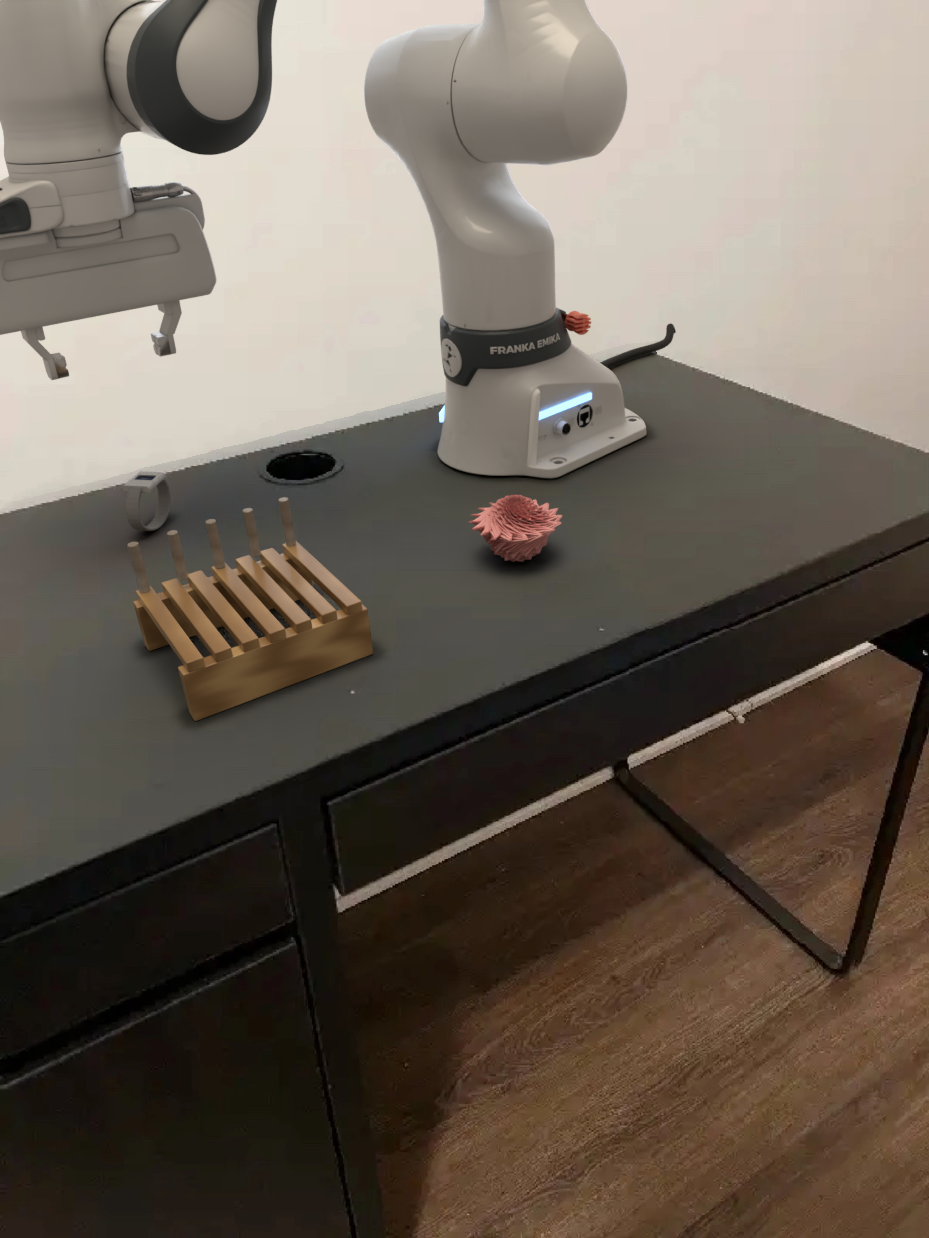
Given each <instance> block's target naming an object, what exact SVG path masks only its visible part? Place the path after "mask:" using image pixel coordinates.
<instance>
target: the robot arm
mask: <svg viewBox="0 0 929 1238" xmlns="http://www.w3.org/2000/svg"><path fill="white" fill-rule="evenodd" d="M482 1H483V15H482V21H481V23H458V24H457V23H453V24H429V25H428V24H427V25H424V26H421V27H417V28H415V29H412V30H408V31H404V32H403V33H399V34H397V35H395V36H392V37H389V38H387V39H385V40H384V41H382V42H381V43H380V44H379V45H378V46H377V47H376V48H375V50H374V51H373V53H372V55H371V56H370V59H369V61H368V64H367V67H366V71H365V75H364V80H363V102H364V103H363V104H364V108H365V113H366V115H367V119H368V122H369V124H370V126H371V128H372V130H373V132H374V134H375V135H376V137H378V139H379V140H380V141H381V142H382V143H383V144H384V145H385V146H386V147H387V148H389V149H390V151H391V152H392V153H393V154H394V155H395V156H396V157H397V158H398V159H399V161H400V163H401V164H402V165H403V167H404V168H405V170H406V171H407V173H408V174H409V176H410V178H411V180H412V181H413V183H414V186H415V188H416V191H417V192H418V194H419V196H420V199H421V201H422V203H423V206H424V209H425V211H426V213H427V216H428V219H429V222H430V225H431V229H432V233H433V238H434V241H435V247H436V254H437V255H436V257H437V262H438V263H437V264H438V271H439V272H438V273H439V280H440V291H441V303H442V315H441V317H440V318H439V340H440V353H441V355H440V356H441V363H442V368H443V374H444V376H445V393H444V405H443V407H442V408H441V410H440V411H439V412H438V417H439V418H438V420H439V423H442V426H441V432H440V437H439V443H438V446H437V450H436V451H437V456H438V458H439V460H440V461H441V462H443V463H444V464H446V465H447V466H448V467H451V468H453V469H456V470H457V471H462V472H465V473H468V474H474V475H482V476H498V477H501V476H502V477H505V476H508V477H509V476H528V477H533V478H541V479H556V478H559V477H562V476H564V475H566V474H568V473H571V472H572V471H575V470H577V469H579V468H581V467H583V466H585V465H587V464H589V463H591V462H593V461H596V460H598V459H600V458H602V457H604V456H607V455H608V454H610V453H612V452H615V451H617V450H618V449H621V448H623V447H625V446H627V445H630V444H632V443H634V442H635V441H638V440H640V439H642V438H644V437H645V436H647V426H646V423H645V421H644V419H642V418H641V417H640V416H639V415H638V414H636V412H633V411H632V410H630V409H628V408H627V407H625V399H624V393H623V388H622V385H621V382H620V380H619V378H618V376H617V375H616V374H615V373H614V372H613V371H612V370H611V369H610V368H611V367H613V366H616V365H618V364H620V363H623V362H626V361H628V360H631V359H633V358H636V357H640V356H644V355H648V354H651V353H654V352H658V351H661V350H663V349H665V348H666V347H668V346H669V345H670V344H672V341H673V339H674V335H675V334H676V332H677V330H676V328H675V325H674V324H673V323H668V324H667V325H666V328H665V329H666V330H665V331H666V332H665V337H664V338H663V339H661V340H659V341H657V342H654V343H650V344H647V345H643V346H639V347H636V348H633V349H629V350H627V351H625V352H622V353H619V354H616V355H614V356H612V357H609V358H606V359H604V360H602V361H601V362H600V361H598V360H597V359H596V358H593V356H591V355H590V354H588V353H587V352H585V351H584V350H582V349H580V348H579V347H578V346H576V345H575V344H573V342H572V339H571V336H570V334H569V332H574V333H576V334H577V335H578V336H579V335H580V336H581V335H582V336H584V335H586V334H587V333H589V329H590V328H591V327H592V325H591V324H592V321H591V320H592V319H591V317H589V314H586V313H582V312H579V311H578V310H572V311H570V312H568V313H567V312H566V311H565V310H564V309H561V308H558V307H557V305H556V303H557V302H556V301H557V300H556V242H555V241H556V240H555V235H554V231H553V229H552V227H551V224H550V222H549V221H548V219H547V218H546V216H545V215H543V213H541V212H540V210H538V209H537V208H535V207H534V206H533V205H532V204H531V203H529V202H528V201H527V200H526V199H525V198H524V197H523V195H522V194H521V192H520V191H519V189H518V188H517V186H516V184H515V182H514V180H513V177H512V175H511V172H510V169H509V166H508V164H509V165H510V164H511V165H512V164H513V165H532V166H552V165H553V166H554V165H558V164H559V165H560V164H564V163H570V162H574V161H579V160H583V159H587V158H592V157H595V156H598V155H599V154H601V153H602V152H603V151H604V150H605V149H606V148H607V147H608V146H609V144H610V143H611V142H612V141H613V139H614V137H615V136H616V134H617V132H618V131H619V129H620V127H621V126H622V125H621V124H622V121H623V119H624V116H625V113H626V109H627V102H628V97H629V95H628V94H629V81H628V74H627V69H626V65H625V62H624V59H623V56H622V54H621V52H620V50H619V48H618V46H617V44H616V43H615V42H614V40H613V38H612V37H611V36H610V34H608V33H607V32H606V31H605V30H604V29H603V28H602V27H601V25H600V24H599V23H598V21H597V20H596V19H595V16H594V14H593V13H592V11H591V10H590V7H589V6H588V3H587V1H586V0H482ZM277 3H278V0H162V1H160V0H0V124H1V130H2V134H3V158H4V161H5V165H6V169H7V173H8V176H6V177H5V178H3V179H1V180H0V336H2V335H8V334H13V333H19V332H20V333H21V337H22V339H23V340H24V341H25V342H26V343H27V344H28V345H29V346H30V347H31V348H32V349H33V350H34V351H35V353H36V354H38V355H39V356H40V357H41V358H42V361H43V364H44V368H45V372H46V375H47V377H48V379H50V380H51V381H55V380H60V379H63V378H69V377H70V372H69V369H68V368H67V365H68V364H67V361H66V357H65V356H64V355H63V354H62V353H61V352H53V353H50V351H48V349H46V348H45V346H43V344H42V343H41V341H45V340H46V335H45V332H44V328H43V327H49V326H54V325H58V324H59V325H60V324H63V323H69V322H75V321H81V320H85V319H90V318H95V317H100V316H101V317H102V316H105V315H110V314H111V315H112V314H116V313H121V312H127V311H132V310H136V309H141V308H147V307H152V306H157V310H158V311H159V312H161V313H163V316H162V319H161V323H160V327H159V331H156V332H151V333H150V337H151V341H152V343H153V351H154V353H155V355H157V356H158V357H165V356H170V355H175V354H177V347H176V342H175V336H174V335H175V334H176V331H177V328H178V325H179V322H180V319H181V317H182V312H183V311H182V307H181V301H183V300H189V299H194V298H198V297H204V296H209V295H211V294H212V292H213V291H214V289H215V286H216V284H217V274H216V270H215V266H214V262H213V258H212V253H211V250H210V247H209V245H208V241H207V238H206V236H205V233H204V228H205V223H206V219H205V212H204V206H203V201H202V200H201V197H200V196H199V194H198V192H197V191H195V190H194V189H193V188H192V187H190V186H187V185H183V183H182V182H180V181H169V182H166V183H164V184H156V185H155V184H154V185H152V184H151V185H140V186H132V187H131V186H130V182H129V176H128V172H127V166H126V162H125V156H124V153H123V147H122V139H123V137H124V136H125V135H127V134H130V133H140V134H143V135H147V136H149V137H151V138H154V139H158V140H163V141H166V142H167V143H170V144H172V145H174V146H175V147H177V148H178V149H181V150H183V151H185V152H189V153H191V154H195V155H201V156H214V155H215V156H216V155H220V154H225V153H228V152H231V151H233V150H235V149H237V148H239V147H240V146H242V145H243V144H244V143H246V142H247V141H248V140H249V139H250V138H251V137H252V136H253V135H254V134H255V133H256V132H257V130H258V129H259V127H260V126H261V124H262V122H263V121H264V118H265V117H266V114H267V111H268V108H269V105H270V101H271V95H272V89H273V88H272V87H273V53H272V51H273V50H272V49H273V47H272V46H273V45H272V43H273V42H272V41H273V40H272V39H273V37H272V36H273V25H274V18H275V12H276V8H277ZM184 192H186V193H187V194H184Z"/></svg>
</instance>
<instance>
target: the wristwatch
mask: <svg viewBox="0 0 929 1238" xmlns="http://www.w3.org/2000/svg"><path fill="white" fill-rule="evenodd" d="M166 477H167V475H166V474H165V472H162V471H145V470H144V471H143V470H141V471H139V472H138V473H136V474H135V475H134V476H133V477H132V478H130V479H129V480H128V481H127V482H126V483H124V485H122V487H121V488H122V491H123V492H125V493H127V494H126V501H125V502H126V503H125V511H126V518H127V521H128V524H129V525H130V527H132V529H133V530H135V531H141V532H154V531H156V530H158V529H160V528H161V527H162V526H163V525H164V524H165V522H166V521H167V518H168V517H169V514H170V510H171V505H172V493H171V488H170V485H169V483H168V481H167V479H166ZM155 488H156V490H157V495H158V496H157V505H156V511H155V513H154V516H153V518H152V520H151V521H150V522H149V523H148V524H147V525H145V523H144V522H143V520H142V517H141V510H140V507H141V505H140V504H141V496H142V494H149V493H150V492H151V491H153V490H154V489H155Z"/></svg>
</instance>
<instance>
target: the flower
mask: <svg viewBox="0 0 929 1238" xmlns="http://www.w3.org/2000/svg"><path fill="white" fill-rule="evenodd" d="M489 505H491V506H489V507H477V509H478V510H479V511H481V512H479V513H472V514H471V513H470V516H471V517H474V518H475V519H473V520H469V521H468V522H467V523H468V524H473V525H474V527H472V528H471V530H472V531H475V532H479V533H480V535H479V536H480V537H483V539H484V540H485V542H486V544H487V545H490V550H491V551H493V555H494V556H495V555H496V556H500V557H501V559H503V561H505V562H507V561H510V562H513V563H514V562H519V563H520V562H521V563H524V561H525V560H532V557H536V556H537V555H539V554H541V552H542V549H543V547H546V546H547V543H548V540H549V536H550V535H551V534H552V533H553V532H555V531H556V528H557V527H559V526H561V525H562V524H563V522H562V521H560V520H561V519H562V518H563V517H564V516H563V514H557V513H558V510H559V507H555V508H550V509H549V507H550V503H549V502H545V503H544V504H541V505H539V504H538V501H537V499H536V498H535V499H533V500H532V498H530V497H527V496H524V495H522V494H510V495H505V496H504V497H500V498H499V499H497V500H496V502H495V503H494V502H492V501H490V502H489Z"/></svg>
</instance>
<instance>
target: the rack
mask: <svg viewBox="0 0 929 1238" xmlns="http://www.w3.org/2000/svg"><path fill="white" fill-rule="evenodd" d="M278 507H279V512H280V513H279V514H280V518H281V523H282V529H283V536H284V540H285V543H282V545H281V546H282V552H283V553H280V554H279V552H278V551H277V550H276V549H275V548H274V547H270V548H266V549H264V550H261V545H260V540H259V534H258V529H257V524H256V519H255V514H254V509H253V508H251V507H247V508H243V509H242V511H241V512H242V516H243V522H244V526H245V527H244V528H245V532H246V537H247V543H248V546H249V552H250V554H248V555H244V556H241V557H237V558H235V564H236V568H231V567H230V565H228V564H227V563H226V562H225V557H224V552H223V548H222V542H221V538H220V533H219V529H218V525H217V520H216V519H214V518H209V519H207V520H205V528H206V532H207V537H208V541H209V546H210V550H211V555H212V556H211V557H212V560H213V566H211V567H210V568H211V573H212V575H211V576H207V575H206V574H205V573H204V571H202V569H199V570H197V571H193V572H191V573H188V569H187V566H186V561H185V557H184V552H183V547H182V544H181V539H180V535H179V532H178V530H175V529H171V530H169V531H167V532H166V536H167V540H168V544H169V548H170V553H171V556H172V561H173V564H174V569H175V574H176V577H174V578H171V579H169V580H165V581H162V582H161V587H162V591H161V592H159V593H156V591H155V589H153V587H152V586H151V585H150V582H149V579H148V576H147V571H146V567H145V563H144V560H143V556H142V552H141V549H140V545H139V542H138V541H130V542H128V543H127V545H126V547H127V550H128V554H129V558H130V561H131V565H132V569H133V573H134V577H135V579H136V584H137V588H138V589H137V590H135V594H136V598H137V599H136V600H133V602H132V603H133V607H134V611H135V615H136V618H137V622H138V625H139V630H140V633H141V636H142V640H143V643H144V646H145V647H146V649H147V650H148V651H149V652H151V651H154V650H157V649H160V648H163V647H166V646H170V648H171V649H172V651H173V653H175V654H176V656H177V658H178V659H179V660H180V662H181V664H182V665H180V666H178V667H177V670H178V674H179V678H180V682H181V686H182V689H183V690H182V691H183V693H184V697H185V702H186V705H187V708H188V709H187V710H188V713H189V715H190V716H191V718H192V719H193V721H194V722H197V721H200V720H202V719H205V718H208V717H211V716H213V715H216V714H218V713H221V712H224V711H227V710H229V709H231V708H235V707H237V706H240V705H242V704H245V703H247V702H250V701H253V700H255V699H258V698H261V697H263V696H266V695H268V694H271V693H274V692H276V691H279V690H282V689H284V688H287V687H289V686H293V685H294V684H297V683H300V682H303V681H306V680H308V679H311V678H314V677H316V676H319V675H322V674H324V673H326V672H329V671H331V670H334V669H337V668H340V667H342V666H345V665H347V664H350V663H353V662H356V661H358V660H360V659H363V658H366V657H369V656H371V655H373V654H374V648H373V640H372V633H371V626H370V625H371V624H370V618H369V611H368V610H369V609H368V608H367V607H366V606H365V605H364V604H363V603H362V600H361V599H360V598H358V597H357V596H356V595H355V594H354V593H353V592H352V591H351V590H350V589H349V588H348V587H347V586H346V585H344V583H342V581H340V580H339V579H338V578H337V576H335V575H334V574H332V572H331V571H329V570H328V569H327V568H326V567H325V566H324V565H323V564H322V563H321V562H320V561H319V560H317V559H316V557H314V556H313V555H312V554H311V553H310V551H308V550H307V549H306V548H305V547H303V546H302V545H301V544H300V543H299V542H298V541H297V539H296V535H295V529H294V523H293V518H292V512H291V511H292V510H291V505H290V499H289V497H287V496H286V497H285V496H283V497H279V499H278ZM254 558H259V560H258V561H256V560H255V559H254ZM186 580H187V583H186V584H183V585H182V583H181V582H182V581H183V582H184V581H186ZM313 583H314V584H315V585H316V586H318V588H319V589H320V590H322V591H323V593H325V595H327V596H328V597H329V598H330V599H331V600H332V601H333V602H334V603H335V604H336V605H337V606H338V607H339V608H340V609H338V610H337V609H336V608H335V607H334V606H333V605H332V604H331V603H330V602H329V601H328V600H327V599H326V598H325V597H323V596H322V594H320V592H318V591H317V589H315V588H314V585H313ZM298 601H300V602H301V603H302V604H303V606H305V607H306V608H307V609H308V610H309V612H310V613H312V615H314V616H315V618H313V619H311V617H310V616H308V614H307V613H306V612H305V611H304V610H303V609H302V608H301V607H300V606H299V605H298V604H297V602H298ZM273 609H274V610H275V611H276V612H277V613H278V614H279V615H280V616H281V618H283V619H284V620H285V622H286V623H287V624H288V625H289V626H290V627H287V628H285V627H284V626H283V624H282V623H281V622H280V621H279V620H278V619H277V618H276V617H275V616H274V614H272V613H271V610H273ZM247 618H249V619H250V620H251V621H252V623H254V624H255V626H256V627H257V628H258V629H259V630H260V632H261V633H262V634H263V635H264V636H262V637H258V636H257V634H256V633H255V632H254V631H253V630H252V629H251V627H250V626H249V625H248V624H247V623H246V621H245V619H247ZM221 627H223V628H224V629H225V631H227V633H228V634H229V635H230V637H231V638H232V639H233V641H234V642H235V643H236V644H237V645H235V646H233V647H231V646H230V644H229V643H228V642H227V641H226V639H225V638H224V637H223V636H222V633H220V631H218V628H221ZM193 637H197V638H198V639H199V640H200V643H202V645H203V646H204V647H205V648H206V650H207V651H208V652H209V654H210V655H208V656H205V657H204V656H203V655H202V654H201V653H200V651H199V650H198V648H197V647H196V645H195V644H194V643H193V642H192V640H191V639H190V638H193Z"/></svg>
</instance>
